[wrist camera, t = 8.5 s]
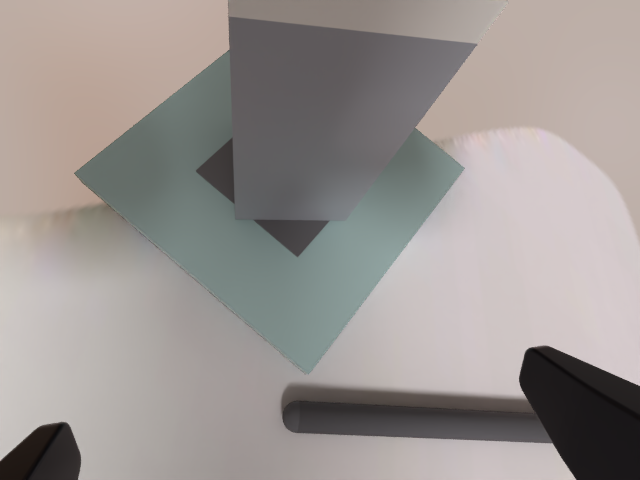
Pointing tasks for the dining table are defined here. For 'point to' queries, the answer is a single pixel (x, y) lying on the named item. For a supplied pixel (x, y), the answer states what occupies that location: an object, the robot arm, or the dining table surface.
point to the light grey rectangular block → (335, 94)
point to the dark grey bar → (412, 422)
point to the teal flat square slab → (261, 235)
